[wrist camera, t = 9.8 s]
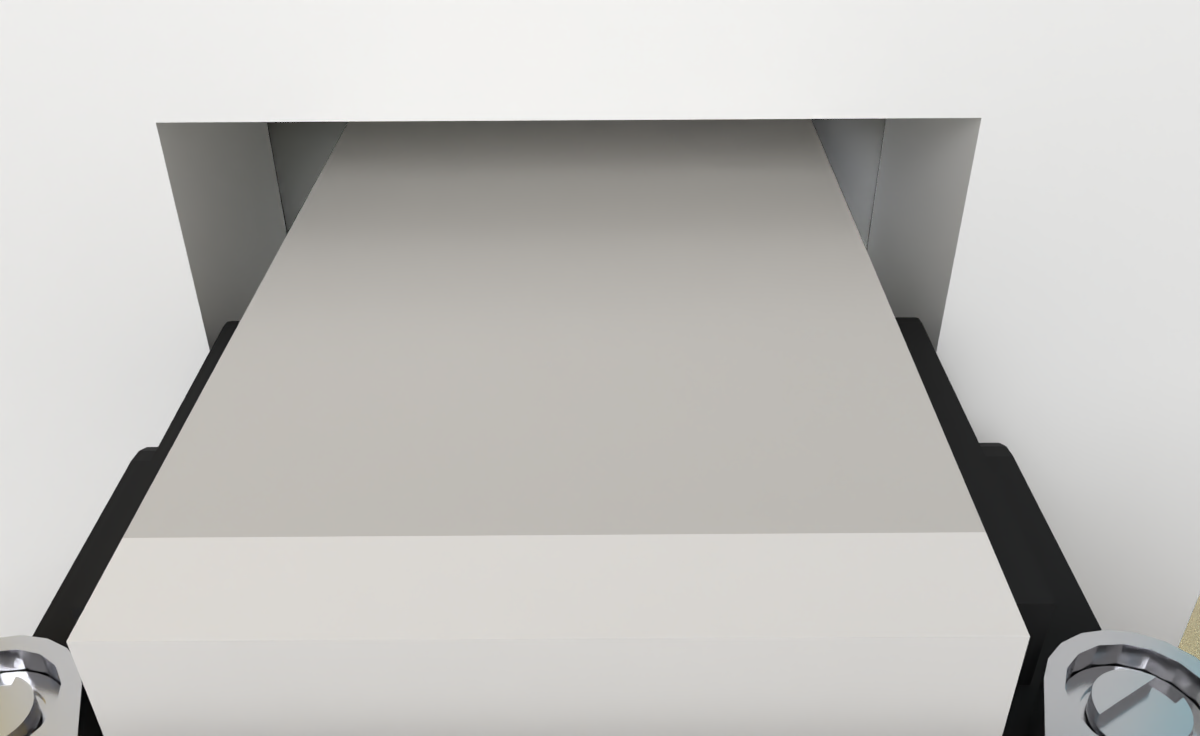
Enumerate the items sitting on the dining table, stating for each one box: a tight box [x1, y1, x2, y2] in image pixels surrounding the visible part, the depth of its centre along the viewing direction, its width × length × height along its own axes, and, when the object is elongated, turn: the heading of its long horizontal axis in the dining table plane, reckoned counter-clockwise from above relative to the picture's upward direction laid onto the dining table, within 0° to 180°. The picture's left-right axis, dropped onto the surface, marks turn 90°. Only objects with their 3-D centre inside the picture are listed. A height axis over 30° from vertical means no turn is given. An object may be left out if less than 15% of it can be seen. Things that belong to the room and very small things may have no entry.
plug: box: [66, 119, 1030, 736], centre depth 10 cm, size 5×5×8 cm
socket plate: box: [0, 0, 1200, 648], centre depth 12 cm, size 16×14×4 cm
